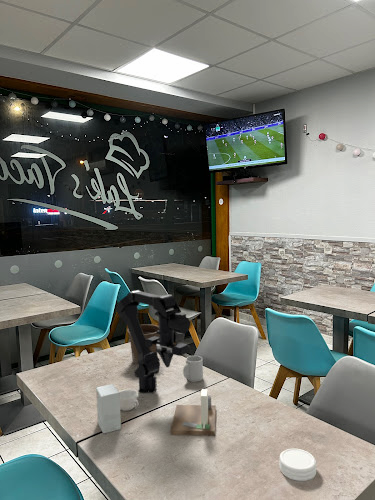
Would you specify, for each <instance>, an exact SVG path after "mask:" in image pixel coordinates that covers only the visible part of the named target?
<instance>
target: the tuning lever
mask: <svg viewBox="0 0 375 500" xmlns="http://www.w3.org/2000/svg"><path fill="white" fill-rule="evenodd" d="M200 405H201V424H203V429H205V425H207V424H208V410H209V409H211V405H212V397H211V395H208V388H202V389H201V392H200Z"/></svg>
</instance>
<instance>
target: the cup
mask: <svg viewBox="0 0 375 500" xmlns="http://www.w3.org/2000/svg"><path fill="white" fill-rule="evenodd" d="M203 365H204V364H203V357H202V356H200V355H189V356H187V357H186V358H185V365H184V366H183V370H182V374H183V377H184V378H185V379H186V380H187V379H188V381H189V382H192V383H193V382H194V383H195V382H200V381H202V380H203V379H204V372H203V371H204V369H203V367H204V366H203Z"/></svg>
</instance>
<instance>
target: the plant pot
mask: <svg viewBox="0 0 375 500" xmlns="http://www.w3.org/2000/svg"><path fill="white" fill-rule="evenodd" d="M140 326H141V329H142V331H143V334H144V336H145V339H146V340H147V339H148V338H151V337H154V336H156V337H159V334H157V331H158V330H159V325H156V324H140ZM126 330H127V334H128V339H129V341H130V342H129V343H130V351H131V358H132V363H133V364H135V365H138V352H137V349H136V347H135V344H134V342H133V339H132V336H131V334H130V331H129V329H128V328H127V329H126ZM149 349H150V350H151V351H152V352H156V353H157V355H159V354H158V352H157V351H156V349H157V346H156V345H154V344H152V347H149Z"/></svg>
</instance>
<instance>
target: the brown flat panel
mask: <svg viewBox="0 0 375 500" xmlns="http://www.w3.org/2000/svg"><path fill="white" fill-rule="evenodd" d="M216 412H217V407H216V404H215V405H212V404H211V409H209V410H208V424H207V425H205V429H203V424H201V404H176V405H175V410H174V414H173V418H172V423H171V427H170V435H171V436H173V435H174V436H206V437H207V436H209V437H210V436H213V437H216V415H217V414H216Z"/></svg>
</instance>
